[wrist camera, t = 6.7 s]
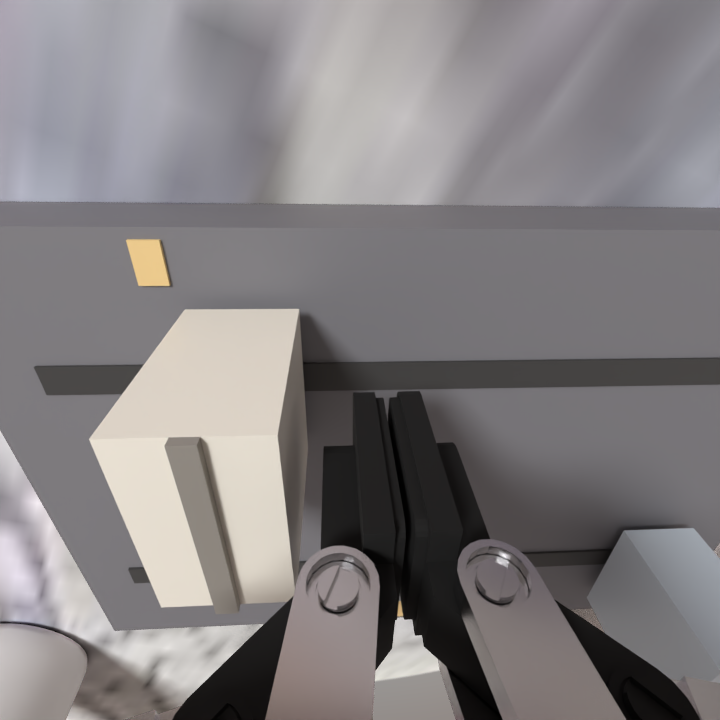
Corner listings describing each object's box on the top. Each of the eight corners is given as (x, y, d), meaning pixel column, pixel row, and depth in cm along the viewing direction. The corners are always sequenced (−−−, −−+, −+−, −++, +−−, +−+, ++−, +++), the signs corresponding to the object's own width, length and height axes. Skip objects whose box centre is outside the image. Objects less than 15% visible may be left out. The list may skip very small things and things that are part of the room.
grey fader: (623, 530, 17) (726, 679, 13) (693, 528, 17) (818, 674, 13) (586, 597, 20) (660, 741, 15) (647, 594, 20) (737, 735, 15)
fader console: (-24, 201, 12) (-121, 226, 10) (842, 209, 14) (961, 232, 11) (139, 570, 22) (113, 632, 20) (636, 551, 24) (674, 606, 21)
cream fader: (184, 309, 11) (82, 447, 6) (299, 308, 11) (275, 443, 7) (215, 449, 13) (158, 616, 9) (308, 447, 14) (295, 610, 9)
